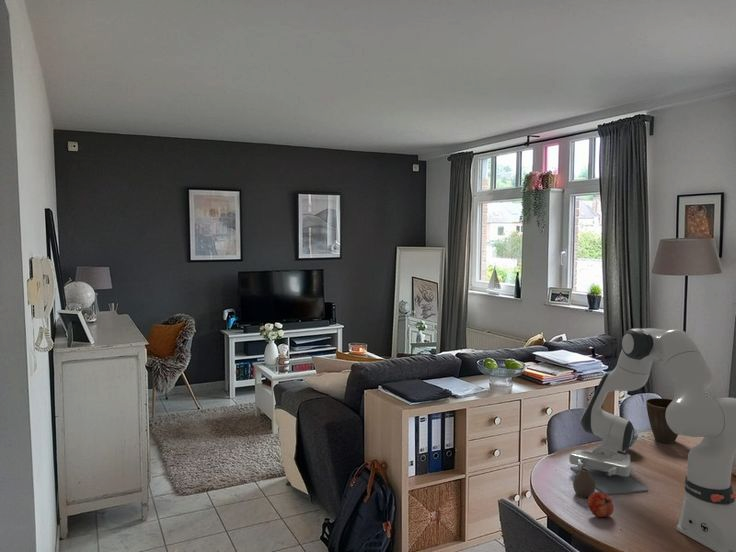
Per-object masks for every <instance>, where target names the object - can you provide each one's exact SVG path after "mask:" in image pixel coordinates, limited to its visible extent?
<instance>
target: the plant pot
mask: <svg viewBox="0 0 736 552" xmlns="http://www.w3.org/2000/svg"><path fill="white" fill-rule="evenodd" d="M672 401H673V399H670V398H661V397H660V398H659V397H657V398H655V397H654V398H648V399H647V400H645V403H646V412H647V416H648V417H647V418H648V423H649V425H650V428H651V429H650V430H651V432H652V435H653V438H654V440H655V441H657V442H659V443H662V444H673V443H675V442H676V441H677V438H678V436H679V434H676V433H674V432H673V431H672V430H671V429H670V427H669V426H668V424H667V421H666V416H665V414H666V409H667V407H668V405H669V404H670V403H671V402H672Z"/></svg>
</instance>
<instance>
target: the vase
mask: <svg viewBox="0 0 736 552" xmlns="http://www.w3.org/2000/svg"><path fill="white" fill-rule="evenodd" d="M573 477H574V478H573V481H572V487H573V490H574V493H575V494H576V495H577V496H578V497H580V498H583V499H588V498H589V497H590V495H591V494H592V493H595V491H596V488H595V481H594V479H593V477H592V476H591V474H590V473H589V470H588V469H585V468H582V469H581V470H580V471H579V473H576V475H575V476H573Z"/></svg>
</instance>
